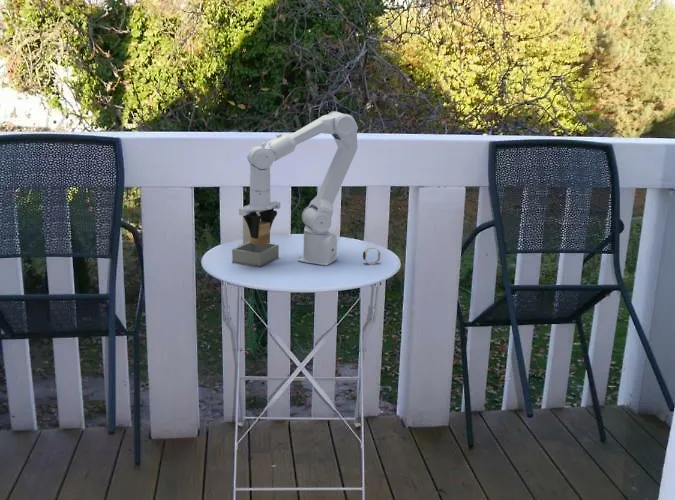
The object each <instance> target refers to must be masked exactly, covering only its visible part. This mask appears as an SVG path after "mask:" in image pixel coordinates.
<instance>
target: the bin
mask: <svg viewBox="0 0 675 500" xmlns="http://www.w3.org/2000/svg"><path fill="white" fill-rule="evenodd" d="M279 247H280V245H279V244H275V243H271V242H270V243H268V244H264V245H256V244H252V243H250V242H248V243H246V244H244V245H243V244H242V245H238V246H237V247H235V248H232V249H231V250H232V254H231V255H232V256H231V257H232V258H231V261H232V263H233V264H238V265H245V266H251V267H256V268H257V267H258V268H260V267H263V266H265V265H267V264H269V263H271V262H274V260H277V259H279V253H280V252H279Z"/></svg>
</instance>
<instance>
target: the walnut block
mask: <svg viewBox="0 0 675 500" xmlns="http://www.w3.org/2000/svg"><path fill="white" fill-rule="evenodd" d="M250 243H252V244H256V245H264V244H268V243H270V244H271V229H270V223H269V222H265V221H261V220H260V222H259V229H258V238H252V237H251V235H250Z"/></svg>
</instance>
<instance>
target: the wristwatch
mask: <svg viewBox="0 0 675 500" xmlns="http://www.w3.org/2000/svg"><path fill="white" fill-rule="evenodd" d="M369 250H376V251H377V252H378V253H377V259H376V260H375V261H373V262H372V261H371V262H368V261H367V257H368V254H367V253H368V251H369ZM381 256H382V255H381V251H380V250H379V249H378V248H375V247H374V246H369V247H366V249H364V251H363V252H362V260H363V261H364V262H366V264H368V265H375V264H378V263H379V262H380V260H381Z"/></svg>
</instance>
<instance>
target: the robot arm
mask: <svg viewBox="0 0 675 500" xmlns="http://www.w3.org/2000/svg"><path fill="white" fill-rule="evenodd" d="M358 129H359V126H358V124H357V122H356V120H355V118H354V117H353V116H352V115H351V114H348V113H342V112H339V111H336V110H335V111H330V112H329V113H328V114H325V115H322V116H320V117H318V118H317V119H315V120H313V121H311V122H310V123H308V124H307V125H305V126H303V127H300V129H298V130H296V131H295V132H293V133H292V134H289V133H286V132H283V133H281V132H279V133H277V134H276V135H275V136H276V137H274V138H272V139H271V140H268V141H266V142H265V141H263V142H261V146H259V145H256V146H254V147H252V148H250V150H249V151H248V154H247V156H246V158H247V162H248V163H249V165H250V166H249V167H250V169H249V203H248V204H247V205H244V206H242V207H238V215H239V216H242V218H243V217H244V219H245V221H246V223H247V225H248V228H249V231H250V235H251V237H252V238H258V229H259V222H260V219H261V221H265V222H269V223H270V230H271V229H272V225H273V223H274V220H275V218H276V216H277V215H278V210H279V209H281V201H277V200H275V201H271V167H272V165H273V163H274V162H276V161H278V160H280V159H282V158H284V157H286V156H288V155H289V154H291V153H293V152H294V151H295V150H296V146H298V145H299V144H301V143H303V142H305V141H308V140H310V139H312V138H314V137H316V136H319V135H321V134H323V135H324V134H326V135H331V136H332V137H333V139H334V142H335V143H336V145H337V149H336V151H335V154H334V156H333V157H332V161H331V162H330V164H329V167H328V169H327V171H326V174H325V176H324V178H323V181H322V184H321V185H320V187H319V190H318V191H317V194H316V196H315V197H314V198H313V199H312V200H310V202H309V204H308V206H307V207H305V208H304V209H303V210H302V214H301V220H302V222H303V224H304V229H303V256H302V257H300V258H299V259H298V260H297V262H299V263H300V262H301V263H307V264H314V265H319V266H328V265H330V264H332V263H333V262H335V261H337V260H338V257H337V250H338V249H337V248H338V247H337V246H338V245H337V244H338V239H337V235H336V234H334V233H332V232H329V230H330V229H331V226H332V216H333V214H334V206H333V205H334V202H335V200H336V197H337V196H338V193H339V191H340V189H341V187H342V184H343V182H344V180H345V177H346V175H347V174H348V170H349V169H350V167H351V164H352V162H353V159H354V157H355V155H356V153H357V150H358ZM275 209H276V210H275ZM257 212H259V213H260V216H259V215H257V214H256V213H257Z"/></svg>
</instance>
